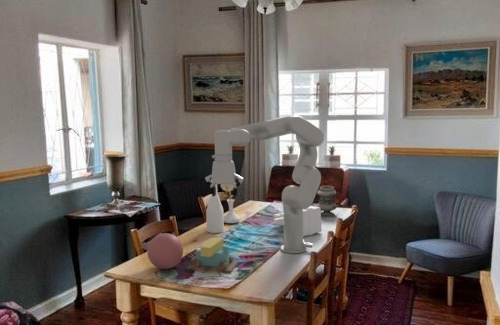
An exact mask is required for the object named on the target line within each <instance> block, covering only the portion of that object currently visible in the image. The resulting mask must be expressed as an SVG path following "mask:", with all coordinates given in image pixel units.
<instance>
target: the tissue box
mask: <svg viewBox="0 0 500 325" xmlns="http://www.w3.org/2000/svg"><path fill="white" fill-rule="evenodd" d="M321 212H322V210H321V209H320V207H317V206H312V205H311V206H310V207H308V208H307V209H303V237H305V236H313V235H314V234H317V233H321V232H322V231H323V230H322V216H321ZM273 224H274V225H279V224H283V225H284V212H280V213H276V214H273Z"/></svg>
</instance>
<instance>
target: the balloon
mask: <svg viewBox="0 0 500 325" xmlns="http://www.w3.org/2000/svg"><path fill="white" fill-rule="evenodd" d="M140 245H141V248H142V249H144V250H145V251H147V253H146V254H147V257H148V258H147V259H148V260H149V262H150V263H151V264H152V265H153V266H154V267H155V268H158V269H159V270H160V269H162V270H169V269H172V268H174V267H175V266H177V265H178V264H179V263H180V262H181V260H182V258H183V256H184V255H183V254H184V246H183V244H182V242H181V240H180V238H178V237H177V235H175V234H173V233H168V232H167V233H166V232H164V233H159V234H157V235H155V236H154V237H153V238H152V239H151V240H149V241H147V242H142V243H141V244H140Z"/></svg>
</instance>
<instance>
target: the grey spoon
mask: <svg viewBox="0 0 500 325" xmlns="http://www.w3.org/2000/svg"><path fill="white" fill-rule="evenodd" d="M219 186H220V188H221V189H222V191H225V193H223V194H221V195H220V197H223V198H228V199H226V201H227V204H228V212H227V213H226V214H225V215H224V223H226V224H237V223H240V221H241V217H240V216H239V215H237V214H236V213H235V212H234V207H233V206H234V202H235V199H234V197H233V194H232V195H230V196H228V192H232V191H233V188H234V187H233V185H232V184H219Z"/></svg>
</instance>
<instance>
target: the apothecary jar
mask: <svg viewBox="0 0 500 325" xmlns="http://www.w3.org/2000/svg"><path fill="white" fill-rule="evenodd" d="M317 195H318V197H319V200H318V203H317V205H316V207H320V209H321V217H325V218H327V217H330V218H331V217H334V216H335V214H336V213H334V212H332V211H335V210H336V209H337V207H338V205H337V204H336V201H335V199H336V198H335V197H336V196H337V191H336V190H335V187H334V186H333V185H322V186H319V189H318V190H317Z"/></svg>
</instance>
